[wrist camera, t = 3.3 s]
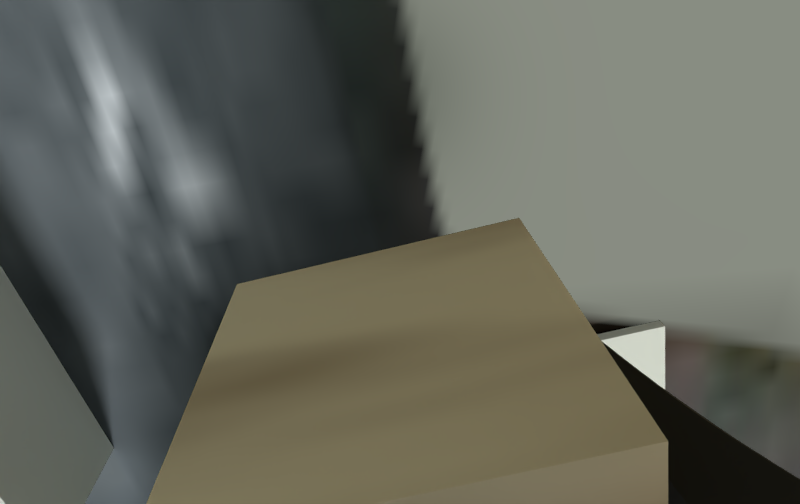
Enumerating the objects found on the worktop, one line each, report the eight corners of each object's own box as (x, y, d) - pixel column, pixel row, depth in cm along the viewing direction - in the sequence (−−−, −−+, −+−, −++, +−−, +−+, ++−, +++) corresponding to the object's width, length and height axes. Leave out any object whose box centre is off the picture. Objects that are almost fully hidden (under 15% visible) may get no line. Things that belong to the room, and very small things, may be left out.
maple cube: (548, 428, 11) (668, 715, 7) (320, 478, 12) (294, 786, 7) (518, 217, 9) (668, 442, 5) (237, 284, 9) (124, 558, 5)
